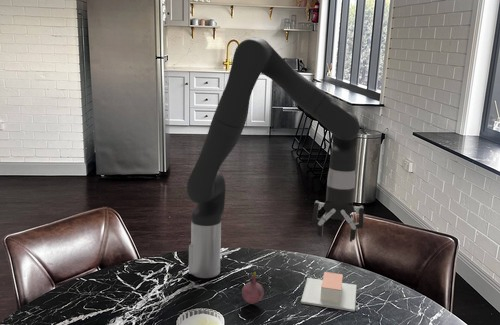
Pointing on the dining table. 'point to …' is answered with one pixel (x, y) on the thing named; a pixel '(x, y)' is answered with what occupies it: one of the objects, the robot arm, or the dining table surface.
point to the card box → (331, 287)
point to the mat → (313, 298)
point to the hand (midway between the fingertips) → (335, 238)
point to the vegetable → (252, 291)
